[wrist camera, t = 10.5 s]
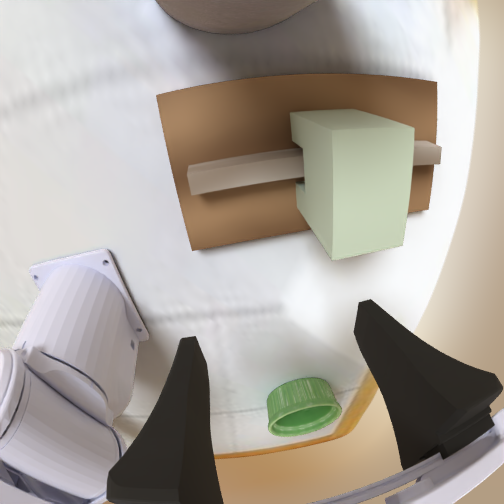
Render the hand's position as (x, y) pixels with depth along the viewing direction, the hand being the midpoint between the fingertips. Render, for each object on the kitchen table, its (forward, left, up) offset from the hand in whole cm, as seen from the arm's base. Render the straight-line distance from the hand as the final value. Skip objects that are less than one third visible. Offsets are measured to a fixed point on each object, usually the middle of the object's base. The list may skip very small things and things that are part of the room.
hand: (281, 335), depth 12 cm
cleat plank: (+5, -5, -9) cm, 12 cm away
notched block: (+5, -5, -8) cm, 11 cm away
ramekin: (-24, -3, -10) cm, 26 cm away
